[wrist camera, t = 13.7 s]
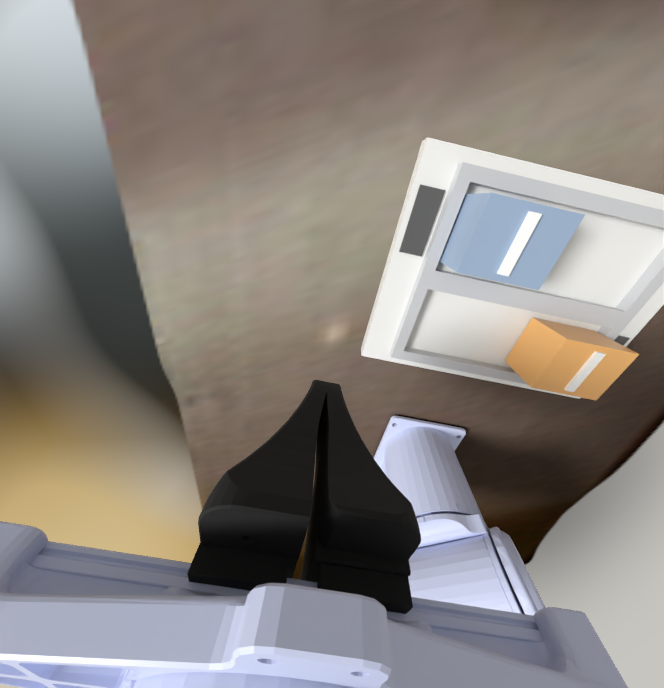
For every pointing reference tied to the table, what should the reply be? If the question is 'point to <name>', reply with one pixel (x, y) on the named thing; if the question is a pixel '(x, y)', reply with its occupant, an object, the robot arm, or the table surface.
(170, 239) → the table surface
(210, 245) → the table surface
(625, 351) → the orange white-striped block
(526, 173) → the white flat tray
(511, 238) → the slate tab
